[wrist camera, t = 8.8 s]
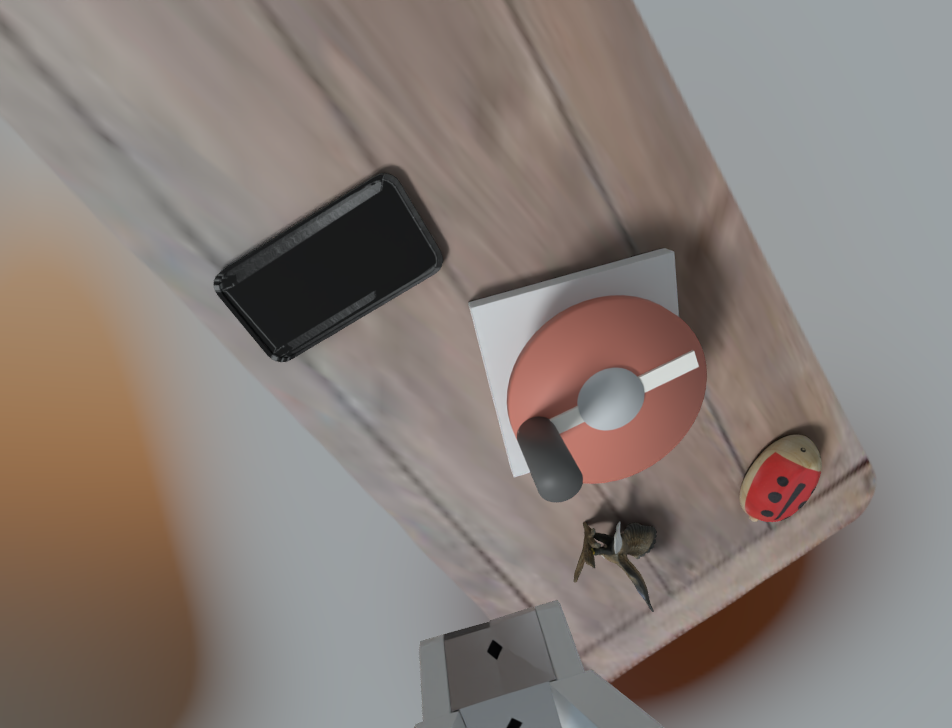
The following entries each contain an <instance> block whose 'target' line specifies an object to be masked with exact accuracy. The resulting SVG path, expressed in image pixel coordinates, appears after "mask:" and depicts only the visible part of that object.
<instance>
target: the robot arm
mask: <svg viewBox="0 0 952 728" xmlns="http://www.w3.org/2000/svg"><path fill="white" fill-rule="evenodd" d="M419 659H420V676H421V694H422V714H423V722H421V723H418V724H416V725H415V727H414V728H664V726H662V725H661V724H660V723H658V722H657V721H656V720H655V719H653V718H652V717H651V716H650V715H648V714H647V713H646V712H645V711H643V710H642V709H641V708H640V707H638V706H637V705H636V704H635V703H633V702H632V701H631V700H629V699H628V698H627V697H626V696H625V695H623V694H622V693H621V692H619V691H618V690H617V689H616V688H614V687H613V686H612V685H611V684H609V683H608V682H607V681H606V680H604V679H603V678H602V677H601V676H599V675H598V674H597V673H596V672H594V671H593V670H588V671H584V668H583V665H582V663H581V660H580V657H579V654H578V652H577V649H576V646H575V643H574V641H573V638H572V635H571V632H570V630H569V627H568V624H567V621H566V618H565V616H564V613H563V610H562V607H561V605H560V603H559V602H558V600H555V601H552V602H549V603H546V604H542V605H539V606H536V607H535V608H534V607H531V608H528V609H524V610H521V611H518V612H515V613H512V614H509V615H506V616H503V617H500V618H496V619H493V620H490V622H487V623H483V624H480V625H476V626H472V627H469V628H465V629H461V630H458V631H454V632H451V633H447V634H443V635H440V636H437V637H433V638H430V639H426V640H423V641H421V642H420V647H419Z"/></svg>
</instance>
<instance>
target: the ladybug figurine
mask: <svg viewBox="0 0 952 728" xmlns="http://www.w3.org/2000/svg"><path fill="white" fill-rule="evenodd" d="M821 467H822V463H821V457H820V454H819V451H818V449H817V448H816V446H815V445H814V443H813V442H812V441H811V440H810V439H809V438H808V437H806V436H803V435H789V436H786V437H783V438H781V439H779V440H778V441H776V442H774V443H773V444H771V445H770V446H769V447H767V448H766V449H765V450H764V451H763V452H762V453H761V454H760V455H759V457H758V458H757V459H756V460H755V462H754V463H753V464H752V466H751V467H750V469H749V470H748V472H747V474H746V476H745V478H744V480H743V483H742V486H741V490H740V504H741V507H742V509H743V510H744V511H745V512H746V513H747V514H748V515H749V518H750V519H751V520H752V521H754V522H756V521H758V520H761V521H766V522H777V521H782V520H784V519H787V518H788V517H790V516H791V515H793V514H794V513H795V512H796V511H798V510H799V509H800V508H801V507H802V506H803V505H804V504H805V503H806V501H807V500H808V499H809V497H810V496H811V494H812V493H813V491H814V490H815V488H816V485H817V483H818V481H819V478H820V474H821Z"/></svg>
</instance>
